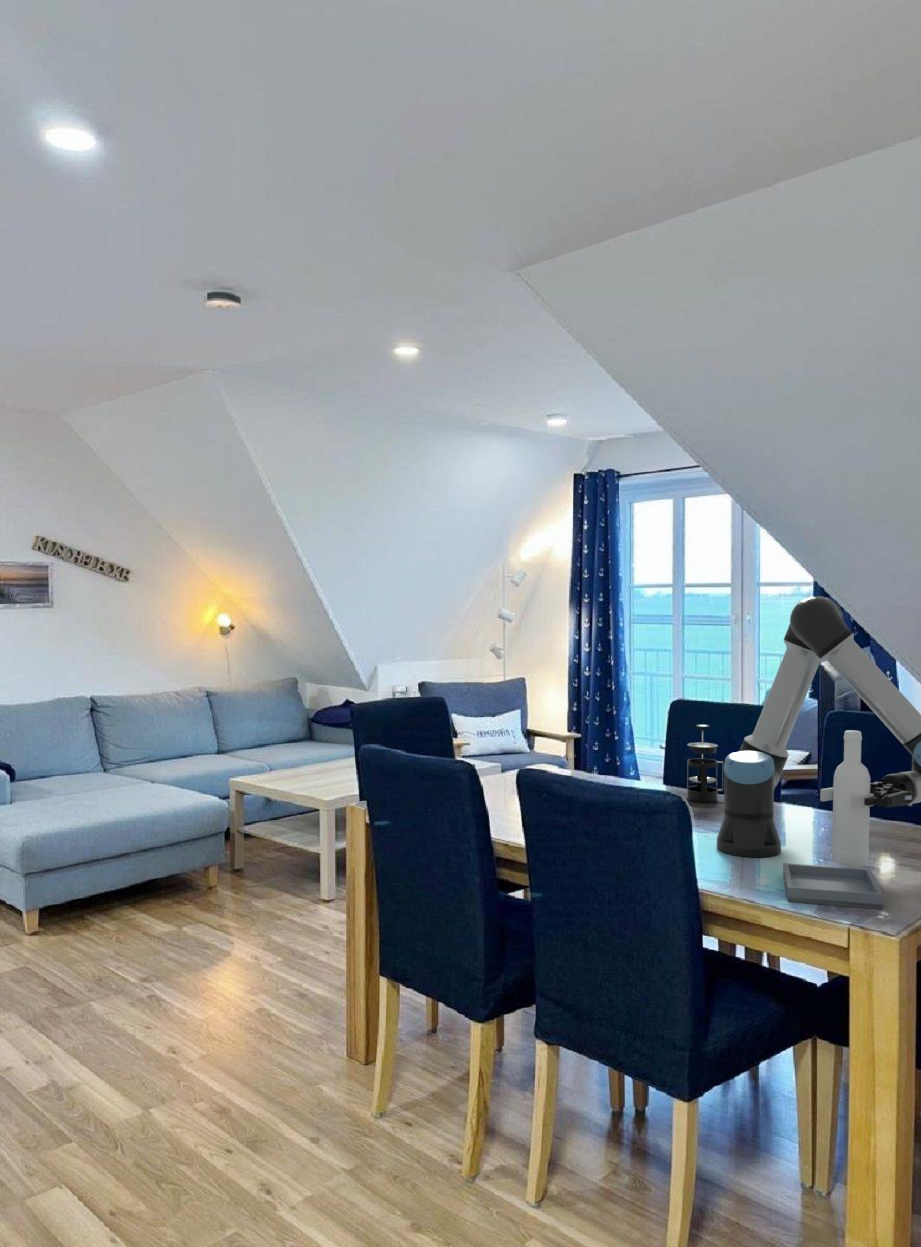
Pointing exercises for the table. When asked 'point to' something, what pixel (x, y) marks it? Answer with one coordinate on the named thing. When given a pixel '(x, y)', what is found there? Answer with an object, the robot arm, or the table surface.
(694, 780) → the french press
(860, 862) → the bottle
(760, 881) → the table surface
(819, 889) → the tray
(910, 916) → the table surface
